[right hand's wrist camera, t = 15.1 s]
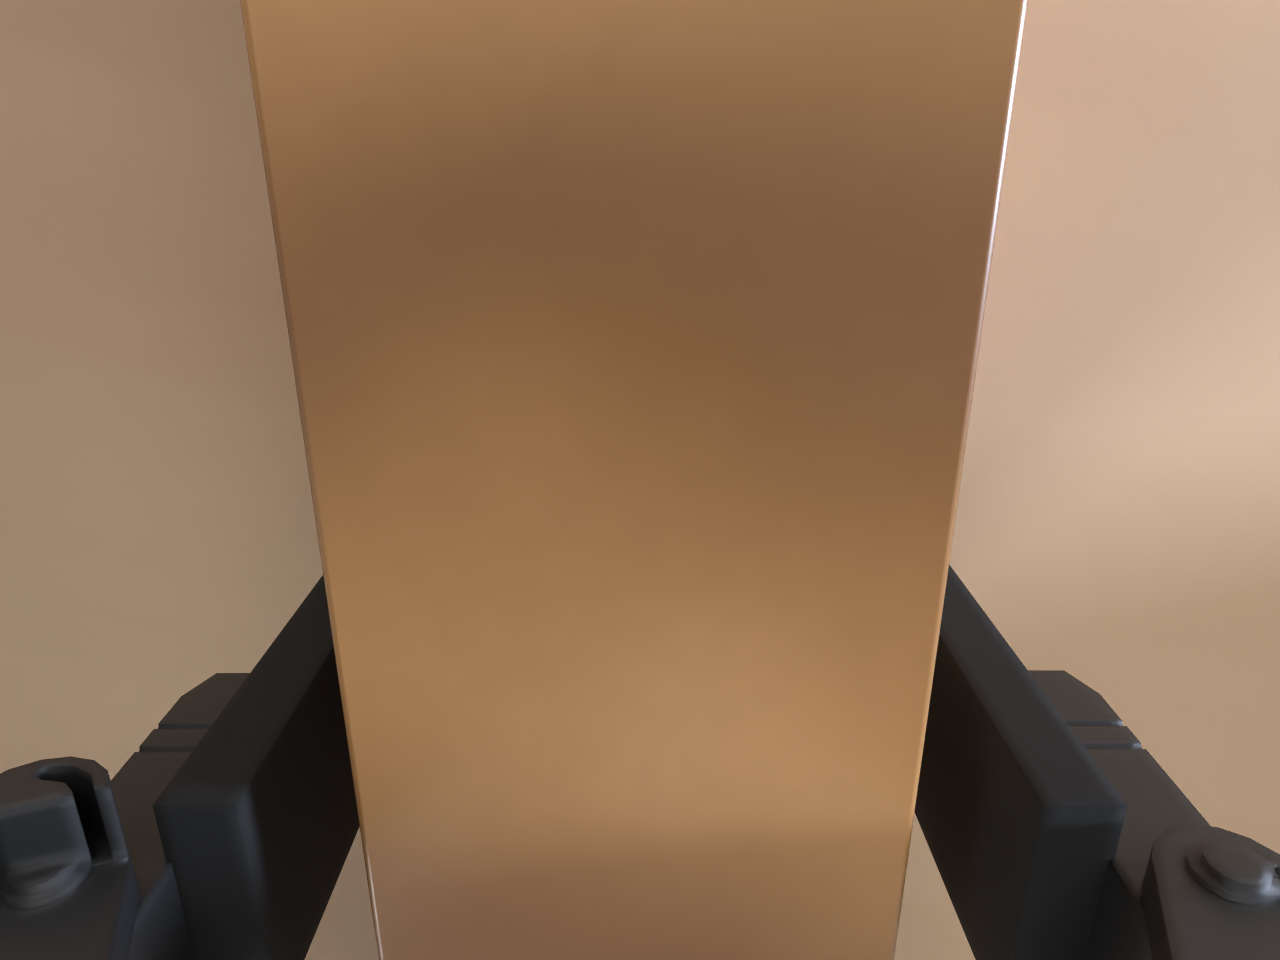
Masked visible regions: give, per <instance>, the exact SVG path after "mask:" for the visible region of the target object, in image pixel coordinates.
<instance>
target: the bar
mask: <svg viewBox="0 0 1280 960" xmlns="http://www.w3.org/2000/svg"><path fill="white" fill-rule="evenodd" d="M240 1H241V8H242V15H243V22H244V28H245V35H246V42H247V49H248V56H249V63H250V70H251V77H252V84H253V91H254V98H255V105H256V111H257V118H258V125H259V132H260V139H261V146H262V153H263V160H264V167H265V174H266V181H267V188H268V194H269V201H270V208H271V215H272V222H273V229H274V236H275V243H276V250H277V257H278V264H279V271H280V277H281V284H282V291H283V298H284V305H285V312H286V319H287V326H288V333H289V340H290V347H291V353H292V360H293V367H294V374H295V381H296V388H297V395H298V402H299V409H300V416H301V423H302V430H303V436H304V443H305V450H306V457H307V464H308V471H309V478H310V485H311V492H312V499H313V506H314V513H315V519H316V526H317V533H318V540H319V547H320V554H321V561H322V568H323V575H324V582H325V589H326V596H327V602H328V609H329V616H330V623H331V630H332V637H333V644H334V651H335V658H336V665H337V672H338V678H339V685H340V692H341V699H342V706H343V713H344V720H345V727H346V734H347V741H348V748H349V755H350V761H351V768H352V775H353V782H354V789H355V796H356V803H357V810H358V817H359V824H360V831H361V838H362V844H363V851H364V858H365V865H366V872H367V879H368V886H369V893H370V900H371V907H372V914H373V920H374V927H375V934H376V941H377V948H378V955H379V960H894V954H895V947H896V940H897V933H898V926H899V918H900V911H901V904H902V897H903V890H904V883H905V875H906V868H907V861H908V854H909V847H910V840H911V833H912V825H913V818H914V811H915V804H916V797H917V790H918V783H919V775H920V768H921V761H922V754H923V747H924V740H925V732H926V725H927V718H928V711H929V704H930V697H931V690H932V682H933V675H934V668H935V661H936V654H937V647H938V639H939V632H940V625H941V618H942V611H943V604H944V597H945V589H946V582H947V575H948V568H949V561H950V554H951V546H952V539H953V532H954V525H955V518H956V511H957V504H958V496H959V489H960V482H961V475H962V468H963V461H964V453H965V446H966V439H967V432H968V425H969V418H970V411H971V403H972V396H973V389H974V382H975V375H976V368H977V360H978V353H979V346H980V339H981V332H982V325H983V318H984V310H985V303H986V296H987V289H988V282H989V275H990V267H991V260H992V253H993V246H994V239H995V232H996V225H997V217H998V210H999V203H1000V196H1001V189H1002V182H1003V174H1004V167H1005V160H1006V153H1007V146H1008V139H1009V132H1010V124H1011V117H1012V110H1013V103H1014V96H1015V89H1016V81H1017V74H1018V67H1019V60H1020V53H1021V46H1022V39H1023V31H1024V24H1025V17H1026V10H1027V3H1028V0H240Z"/></svg>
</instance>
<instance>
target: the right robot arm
mask: <svg viewBox="0 0 1280 960" xmlns="http://www.w3.org/2000/svg"><path fill="white" fill-rule="evenodd" d="M914 812H915V814H916V816H917V819H918V821H919V824H920V826H921V828H922V831H923V833H924V836H925V838H926V841H927V843H928V845H929V848H930V850H931V853H932V855H933V858H934V860H935V862H936V865H937V867H938V870H939V872H940V874H941V877H942V879H943V882H944V884H945V887H946V889H947V891H948V894H949V896H950V899H951V901H952V903H953V906H954V908H955V911H956V913H957V916H958V918H959V920H960V923H961V925H962V928H963V930H964V932H965V935H966V937H967V940H968V942H969V945H970V947H971V949H972V952H973V954H974V957H975V959H976V960H1280V855H1279V854H1277V853H1276V852H1274V851H1272V850H1270V849H1268V848H1266V847H1265V846H1263V845H1261V844H1259V843H1257V842H1256V841H1254V840H1252V839H1250V838H1248V837H1245V836H1242V835H1239V834H1236V833H1233V832H1230V831H1227V830H1224V829H1221V828H1217V827H1211V826H1210V825H1209V824H1208V822H1207V821H1206V820H1205V819H1204V818H1203V817H1202V815H1201V814H1200V813H1199V812H1198V811H1197V809H1196V808H1195V807H1194V806H1193V805H1192V803H1191V802H1190V801H1189V800H1188V799H1187V798H1186V796H1185V795H1184V794H1183V793H1182V792H1181V790H1180V789H1179V788H1178V787H1177V786H1176V784H1175V783H1174V782H1173V781H1172V780H1171V778H1170V777H1169V776H1168V775H1167V774H1166V773H1165V771H1164V770H1163V769H1162V768H1161V767H1160V765H1159V764H1158V763H1157V762H1156V761H1155V759H1154V758H1153V757H1152V756H1151V755H1150V754H1149V752H1148V751H1147V750H1146V749H1142V748H1141V743H1140V742H1139V740H1138V739H1137V738H1136V737H1135V736H1134V734H1133V733H1132V732H1131V731H1130V730H1129V729H1128V727H1127V726H1123V725H1122V720H1121V719H1120V718H1119V717H1118V715H1117V714H1116V713H1115V712H1114V711H1113V709H1112V708H1111V707H1110V706H1109V705H1108V704H1107V702H1106V701H1105V700H1104V699H1103V698H1102V696H1101V695H1100V694H1099V693H1097V692H1096V691H1094V690H1093V689H1091V688H1090V687H1088V686H1087V685H1085V684H1084V683H1082V682H1081V681H1079V680H1078V679H1076V678H1074V677H1073V676H1071V675H1070V674H1068V673H1067V672H1065V671H1028V670H1027V669H1026V668H1025V666H1024V665H1023V663H1022V662H1021V661H1020V659H1019V658H1018V657H1017V655H1016V654H1015V653H1014V651H1013V650H1012V649H1011V647H1010V646H1009V645H1008V643H1007V642H1006V641H1005V639H1004V638H1003V637H1002V635H1001V634H1000V632H999V631H998V630H997V628H996V627H995V626H994V624H993V623H992V622H991V620H990V619H989V618H988V616H987V615H986V614H985V612H984V611H983V610H982V608H981V607H980V605H979V604H978V603H977V601H976V600H975V599H974V597H973V596H972V595H971V593H970V592H969V591H968V589H967V588H966V587H965V585H964V584H963V583H962V581H961V580H960V579H959V577H958V576H957V574H956V573H955V572H954V570H953V569H952V568H951V566H950V565H949V568H948V575H947V582H946V589H945V597H944V604H943V611H942V618H941V625H940V632H939V639H938V647H937V654H936V661H935V668H934V675H933V682H932V690H931V697H930V704H929V711H928V718H927V725H926V732H925V740H924V747H923V754H922V761H921V768H920V775H919V783H918V790H917V797H916V804H915V811H914ZM359 826H360V824H359V817H358V810H357V803H356V796H355V789H354V782H353V775H352V768H351V761H350V755H349V748H348V741H347V734H346V727H345V720H344V713H343V706H342V699H341V692H340V685H339V678H338V672H337V665H336V658H335V651H334V644H333V637H332V630H331V623H330V616H329V609H328V602H327V596H326V589H325V582H324V575H323V576H322V577H321V579H320V580H319V581H318V583H317V584H316V585H315V587H314V588H313V589H312V591H311V592H310V593H309V595H308V596H307V597H306V599H305V600H304V601H303V603H302V604H301V606H300V607H299V608H298V610H297V611H296V612H295V614H294V615H293V616H292V618H291V619H290V620H289V622H288V623H287V624H286V626H285V627H284V628H283V630H282V631H281V632H280V634H279V635H278V637H277V638H276V639H275V641H274V642H273V643H272V645H271V646H270V647H269V649H268V650H267V651H266V653H265V654H264V655H263V657H262V658H261V659H260V661H259V662H258V664H257V665H256V666H255V668H254V669H253V670H252V672H251V673H216V674H215V675H213V676H212V677H210V678H209V679H207V680H206V681H204V682H203V683H201V684H200V685H198V686H197V687H195V688H194V689H192V690H191V691H189V692H188V693H186V694H185V695H183V696H181V698H180V699H179V700H178V701H177V702H176V704H175V705H174V706H173V707H172V708H171V710H170V711H169V712H168V713H167V714H166V716H165V717H164V718H163V719H162V720H161V722H160V723H159V727H158V729H154V730H153V731H152V732H151V734H150V735H149V736H148V737H147V738H146V739H145V741H144V742H143V743H142V744H141V745H140V750H139V752H135V753H134V754H133V755H132V756H131V757H130V759H129V760H128V761H127V762H126V763H125V765H124V766H123V767H122V768H121V769H120V771H119V772H118V773H117V774H116V775H115V777H114V778H113V779H112V780H111V781H110V778H109V774H108V771H107V770H106V769H105V768H103V767H102V766H101V765H100V764H98V763H97V762H96V761H94V760H89V759H82V758H76V757H63V758H54V759H45V760H39V761H36V762H33V763H29V764H26V765H23V766H19V767H16V768H13V769H9V770H7V771H5V772H3V773H1V774H0V960H304V959H305V957H306V954H307V952H308V949H309V947H310V945H311V942H312V940H313V937H314V935H315V933H316V930H317V928H318V925H319V923H320V920H321V918H322V916H323V913H324V911H325V908H326V906H327V904H328V901H329V899H330V896H331V894H332V891H333V889H334V887H335V884H336V882H337V879H338V877H339V874H340V872H341V870H342V867H343V865H344V862H345V860H346V858H347V855H348V853H349V850H350V848H351V845H352V843H353V841H354V838H355V836H356V833H357V831H358V829H359Z"/></svg>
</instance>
